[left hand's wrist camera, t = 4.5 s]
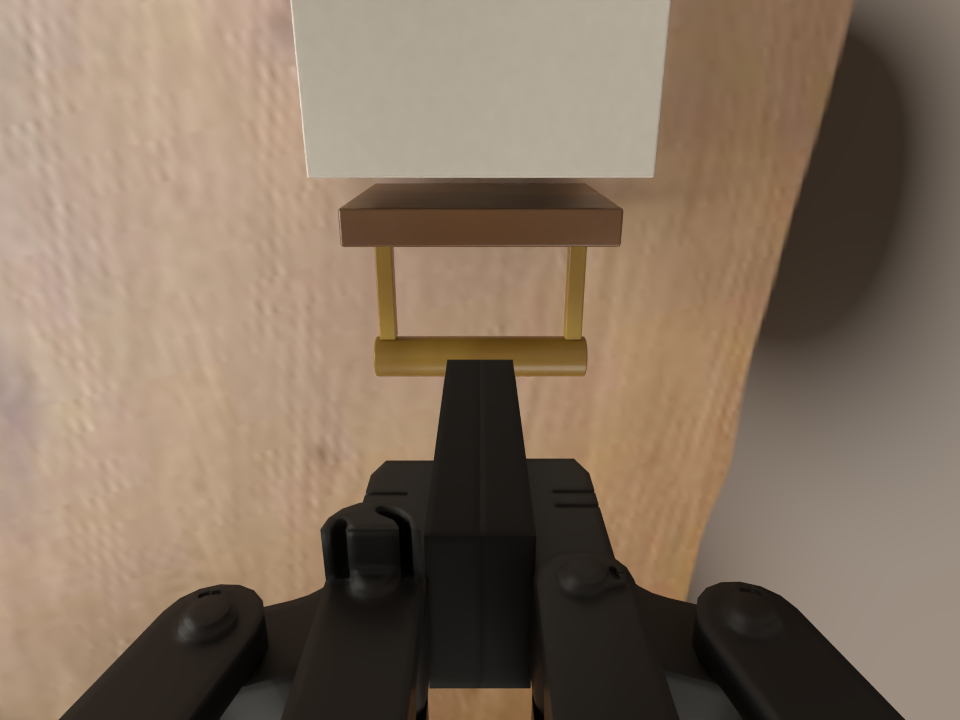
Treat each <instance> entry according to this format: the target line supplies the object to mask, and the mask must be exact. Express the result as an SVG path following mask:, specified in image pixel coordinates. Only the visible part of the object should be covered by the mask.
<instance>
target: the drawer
mask: <svg viewBox="0 0 960 720" xmlns="http://www.w3.org/2000/svg"><path fill="white" fill-rule="evenodd" d="M338 216H339V228H340V241H341V245H342V246H343V247H374V248H375V265H376V281H377V298H378V314H379V331H380V336H378V337H376V340H375V345H374V368H375V373H376V375H377V376H445V372H446V365H447V360H513V365H514V372H515V376H584V375H585V373H586V370H587V343H586V339H585V337H583V336H581V335H582V318H583V302H584V285H585V269H586V252H587V247H618V246H620V244H621V233H622V221H623V209H622V208H620V207H619V206H617V205H616V204H615V203H613V202H612V201H610V200H609V199H607V198H606V197H604V196H603V195H601V194H600V193H598V192H597V191H595V190H594V189H593V188H591V187H590V186H588V185H587V184H374V185H373V186H372V187H370V188H369V189H367V190H366V191H364V192H363V193H361V194H360V195H359V196H357V197H356V198H354V199H353V200H351V201H350V202H348V203H347V204H346V205H344V206H343V207H341V208H340V209H339V210H338ZM393 247H568V255H567V275H566V295H565V315H564V336H397V335H398V331H397V311H396V290H395V270H394V250H393Z"/></svg>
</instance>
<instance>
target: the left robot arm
mask: <svg viewBox="0 0 960 720" xmlns="http://www.w3.org/2000/svg"><path fill="white" fill-rule="evenodd" d="M320 530H321V539H322V548H323V557H324V567H325V576H326V582H325V585H324V587H323V588H322V589H320V590H318V591H316V592H314V593H312V594H310V595H308V596H305V597H301V598H298V599H295V600H292V601H288V602H283V603H279V604H275V605H271V606H266V607H263V601H262V599H261V598H260V597H259V596H258V595H257V593H256V592H255V591H254V590H251V589H249V588H246V587H243V586H241V585H223V584H220V585H216V586H211V587H207V588H202V589H199V590H197V591H195V592H192V593H190V594H188V595H186V596H184V597H182V598H180V599H179V600H177V601H176V602H175V603H173V604H172V605H171V606H170V607H168V608H167V609H166V610H165V611H163V612H162V613H161V614H160V615H159V617H158V618H157V619H156V620H155V621H154V622H153V623H152V624H151V625H150V626H149V627H148V628H147V629H146V630H145V631H144V632H143V633H142V634H141V635H140V636H139V637H138V638H137V639H136V640H135V641H134V642H133V643H132V644H131V645H130V647H129V648H128V649H127V650H126V651H125V652H124V653H123V654H122V655H121V656H120V657H119V658H118V659H117V660H116V661H115V662H114V663H113V664H112V665H111V666H110V667H109V668H108V669H107V670H106V671H105V672H104V673H103V674H102V676H101V677H100V678H99V679H98V680H97V681H96V682H95V683H94V684H93V685H92V686H91V687H90V688H89V689H88V690H87V691H86V692H85V693H84V694H83V695H82V696H81V697H80V698H79V699H78V700H77V701H76V702H75V703H74V704H73V706H72V707H71V708H70V709H69V710H68V711H67V712H66V713H65V714H64V715H63V716H62V717H61V718H60V719H59V720H429V716H428V686H429V688H531V683H532V716H531V720H905V719H904V718H903V717H902V716H901V715H900V714H899V713H898V712H897V711H896V710H895V709H894V708H893V707H892V706H891V705H890V704H889V703H888V702H887V701H886V699H885V698H884V697H883V696H882V695H881V694H880V693H879V692H878V691H877V690H876V689H875V688H874V687H873V686H872V685H871V684H870V683H869V682H868V681H867V680H866V679H865V678H864V677H863V676H862V675H861V674H860V673H859V672H858V671H857V670H856V669H855V668H854V667H853V666H852V665H851V663H850V662H849V661H848V660H847V659H846V658H845V657H844V656H843V655H842V654H841V653H840V652H839V651H838V650H837V649H836V648H835V647H834V646H833V645H832V644H831V643H830V642H829V641H828V640H827V639H826V638H825V637H824V636H823V635H822V634H821V633H820V632H819V631H818V630H817V629H816V628H815V627H814V625H813V624H812V623H811V622H810V621H809V620H808V619H807V618H806V617H805V616H804V615H803V614H802V613H801V612H800V611H799V610H798V609H797V608H796V607H794V606H793V605H792V604H791V603H789V602H788V601H787V600H785V599H784V598H783V597H782V596H780V595H778V594H776V593H774V592H772V591H769V590H767V589H765V588H763V587H761V586H756V585H752V584H748V583H743V582H721V583H718V584H715V585H713V586H710V587H708V588H706V589H705V590H704V591H703V593H702V594H701V595H700V596H699V597H698V600H697V605H696V604H692V603H688V602H683V601H679V600H675V599H671V598H667V597H663V596H660V595H657V594H654V593H651V592H649V591H647V590H645V589H643V588H641V587H639V586H638V585H636V584H635V581H634V579H633V577H632V575H631V574H630V572H629V571H628V569H627V567H625V566H624V565H623V564H621V563H620V562H619V561H617V560H616V559H615V557H614V554H613V550H612V547H611V544H610V541H609V537H608V534H607V531H606V527H605V524H604V521H603V517H602V514H601V511H600V508H599V507H598V501H597V498H596V494H595V493H594V488H593V484H592V481H591V478H590V475H589V473H588V472H587V471H586V470H585V469H584V468H583V467H582V466H581V465H580V464H579V463H578V462H577V461H576V460H575V459H526V455H525V447H524V440H523V432H522V425H521V417H520V410H519V402H518V395H517V387H516V380H515V372H514V365H513V360H447V365H446V372H445V380H444V387H443V395H442V402H441V410H440V417H439V425H438V432H437V440H436V447H435V455H434V461H385V462H384V463H383V464H382V465H381V466H380V467H379V468H378V469H377V470H376V471H375V472H374V473H373V474H372V475H371V477H370V480H369V484H368V487H367V490H366V495H365V497H364V500H363V503H358V504H355V505H352V506H349V507H346V508H343V509H341V510H340V511H338V512H337V513H335V514H334V515H332V516H331V517H329V518H328V520H327V521H326V522H325V524H324V525H323V527H322V528H321V529H320Z"/></svg>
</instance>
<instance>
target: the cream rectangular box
mask: <svg viewBox="0 0 960 720" xmlns="http://www.w3.org/2000/svg"><path fill="white" fill-rule="evenodd" d="M290 1H291V11H292V22H293V32H294V43H295V53H296V64H297V74H298V85H299V95H300V106H301V117H302V127H303V138H304V148H305V159H306V169H307V176H308V178H653V177H654V174H655V164H656V153H657V143H658V132H659V122H660V111H661V101H662V90H663V80H664V69H665V59H666V48H667V38H668V27H669V17H670V6H671V0H290Z"/></svg>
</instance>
